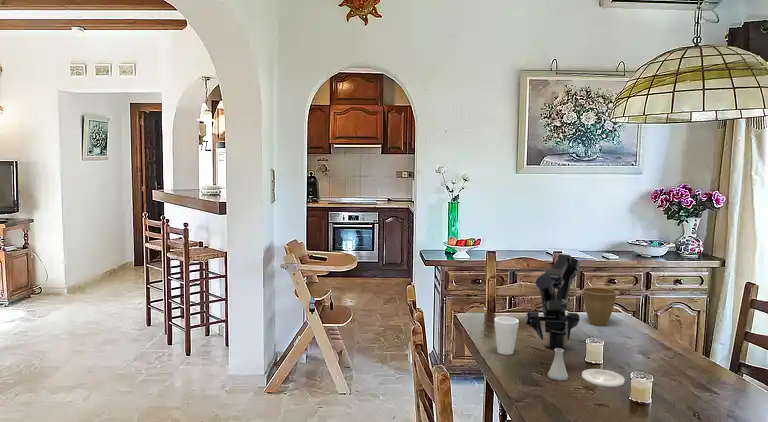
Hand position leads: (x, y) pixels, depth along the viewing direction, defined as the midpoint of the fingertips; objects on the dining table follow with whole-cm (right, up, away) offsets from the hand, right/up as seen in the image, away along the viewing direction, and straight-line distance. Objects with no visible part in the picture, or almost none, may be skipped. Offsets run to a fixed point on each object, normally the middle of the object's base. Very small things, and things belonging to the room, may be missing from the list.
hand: (555, 339), depth 204 cm
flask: (0, -12, -4) cm, 13 cm away
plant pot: (+39, -7, +64) cm, 75 cm away
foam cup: (-13, -10, +21) cm, 27 cm away
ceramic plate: (+15, -13, -5) cm, 20 cm away
